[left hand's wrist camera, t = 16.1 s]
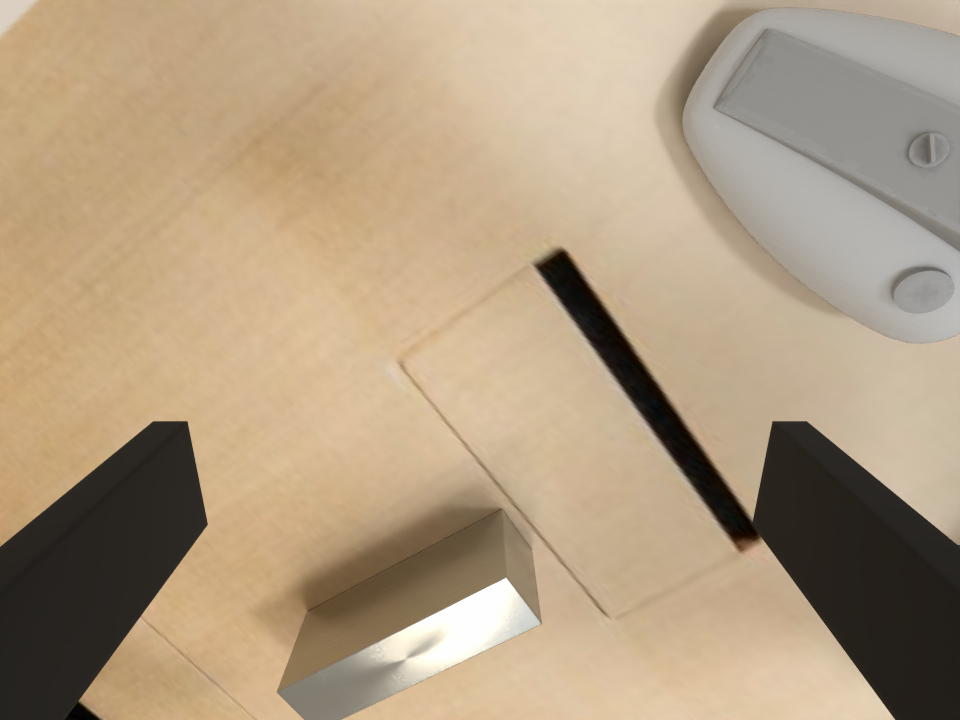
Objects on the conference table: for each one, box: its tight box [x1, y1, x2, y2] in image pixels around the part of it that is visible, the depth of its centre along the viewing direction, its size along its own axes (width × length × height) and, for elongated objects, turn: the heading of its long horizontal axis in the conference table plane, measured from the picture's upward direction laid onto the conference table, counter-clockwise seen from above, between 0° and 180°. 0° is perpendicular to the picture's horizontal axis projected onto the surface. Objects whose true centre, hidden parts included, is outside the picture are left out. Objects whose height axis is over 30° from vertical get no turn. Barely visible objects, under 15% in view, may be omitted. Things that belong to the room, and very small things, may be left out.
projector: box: [682, 7, 960, 344], centre depth 32 cm, size 22×23×15 cm
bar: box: [277, 509, 542, 720], centre depth 48 cm, size 21×5×8 cm, turn 122°
